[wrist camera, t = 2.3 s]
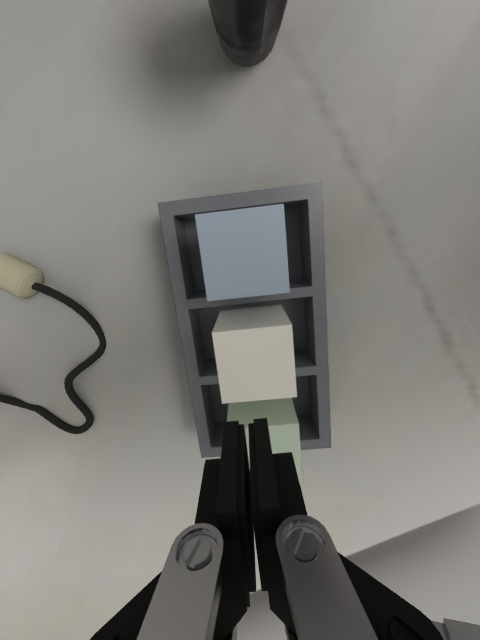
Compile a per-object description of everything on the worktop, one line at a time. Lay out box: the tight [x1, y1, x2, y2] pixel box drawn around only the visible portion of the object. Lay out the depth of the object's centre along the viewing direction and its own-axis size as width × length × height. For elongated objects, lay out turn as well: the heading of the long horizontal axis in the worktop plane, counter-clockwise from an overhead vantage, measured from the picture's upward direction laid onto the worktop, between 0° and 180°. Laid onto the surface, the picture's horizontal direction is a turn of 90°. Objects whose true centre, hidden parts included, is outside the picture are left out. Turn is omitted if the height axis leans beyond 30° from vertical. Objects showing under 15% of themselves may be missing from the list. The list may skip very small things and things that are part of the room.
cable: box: [0, 253, 106, 434], centre depth 29 cm, size 16×16×4 cm
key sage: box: [227, 398, 303, 484], centre depth 23 cm, size 5×5×6 cm
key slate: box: [195, 204, 290, 301], centre depth 20 cm, size 5×5×6 cm
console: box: [158, 183, 331, 458], centre depth 26 cm, size 12×22×5 cm, turn 6°
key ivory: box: [212, 304, 297, 404], centre depth 21 cm, size 5×5×6 cm
